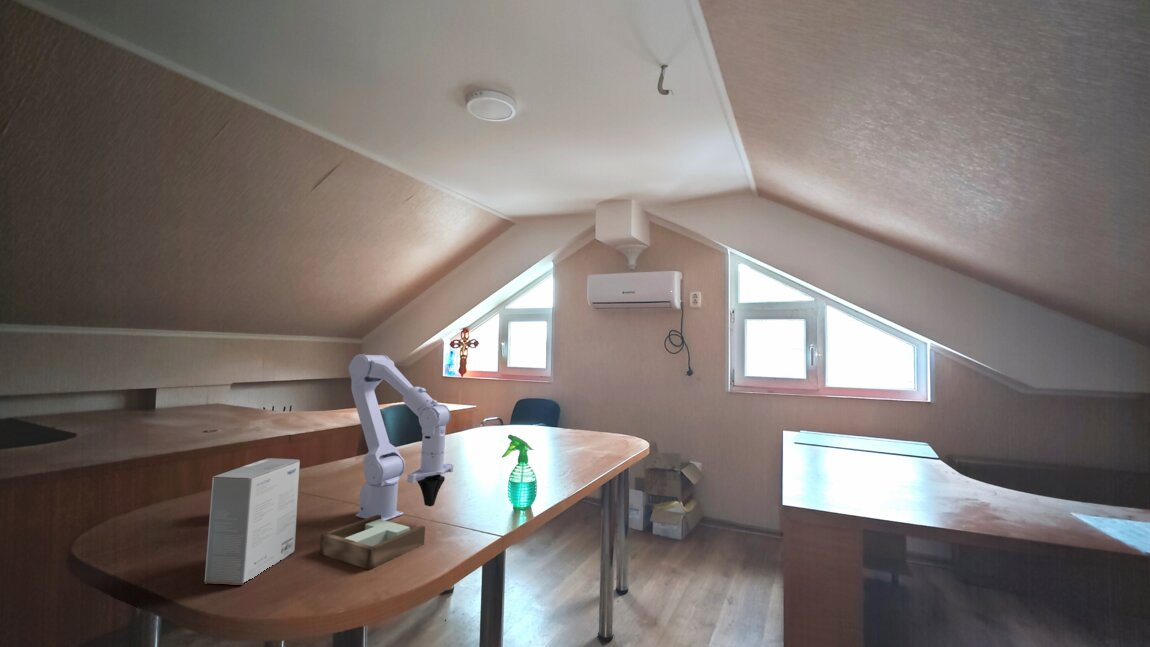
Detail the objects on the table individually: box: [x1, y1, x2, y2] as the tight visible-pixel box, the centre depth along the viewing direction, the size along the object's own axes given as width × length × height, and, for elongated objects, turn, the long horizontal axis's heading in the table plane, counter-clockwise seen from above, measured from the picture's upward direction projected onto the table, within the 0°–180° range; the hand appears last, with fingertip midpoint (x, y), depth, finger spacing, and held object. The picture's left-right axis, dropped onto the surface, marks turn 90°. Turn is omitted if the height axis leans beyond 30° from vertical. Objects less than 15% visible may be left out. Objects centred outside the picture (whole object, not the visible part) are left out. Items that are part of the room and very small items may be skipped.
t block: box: [345, 519, 411, 546], centre depth 103 cm, size 10×12×4 cm
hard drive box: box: [204, 457, 301, 583], centre depth 93 cm, size 16×8×20 cm, turn 178°
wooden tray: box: [319, 515, 426, 571], centre depth 104 cm, size 15×15×4 cm
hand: (429, 505), depth 120 cm, fingers closed
